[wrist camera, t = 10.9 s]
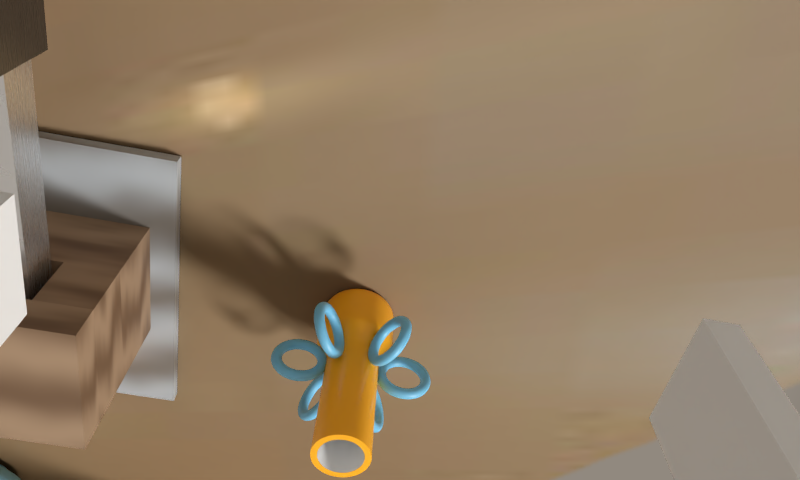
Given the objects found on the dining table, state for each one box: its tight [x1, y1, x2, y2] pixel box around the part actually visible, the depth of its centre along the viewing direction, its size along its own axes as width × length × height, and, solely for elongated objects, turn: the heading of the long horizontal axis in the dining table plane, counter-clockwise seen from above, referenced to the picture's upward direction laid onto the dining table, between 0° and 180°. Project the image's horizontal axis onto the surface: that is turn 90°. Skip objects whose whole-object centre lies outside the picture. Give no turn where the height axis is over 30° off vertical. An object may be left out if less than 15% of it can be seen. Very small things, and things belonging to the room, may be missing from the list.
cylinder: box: [271, 289, 430, 477], centre depth 50 cm, size 12×10×15 cm
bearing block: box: [0, 131, 181, 449], centre depth 49 cm, size 24×16×14 cm, turn 170°
